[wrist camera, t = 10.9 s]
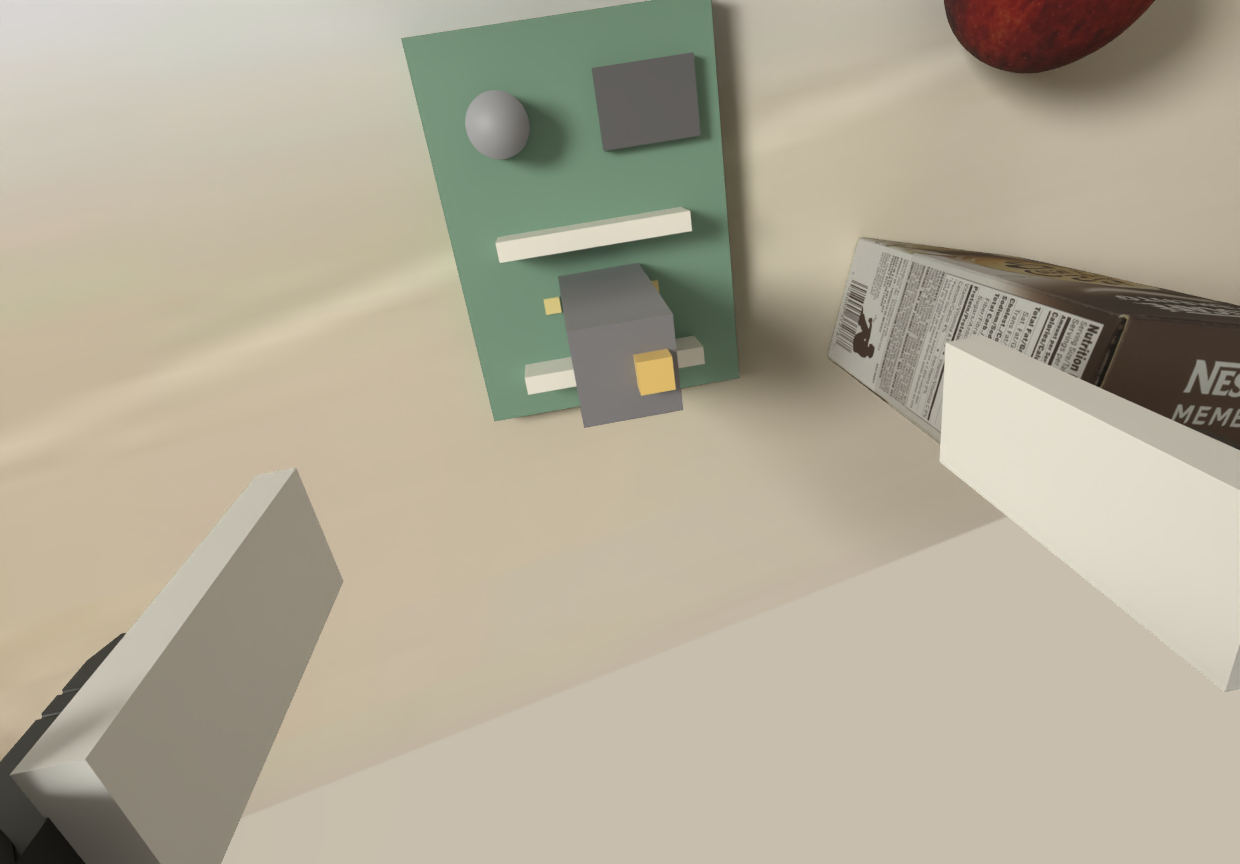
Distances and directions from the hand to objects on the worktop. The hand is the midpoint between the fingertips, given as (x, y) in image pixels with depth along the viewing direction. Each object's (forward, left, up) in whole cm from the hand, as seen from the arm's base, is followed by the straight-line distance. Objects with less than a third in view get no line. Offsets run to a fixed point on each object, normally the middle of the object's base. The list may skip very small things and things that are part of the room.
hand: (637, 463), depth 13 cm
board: (-3, +1, -19) cm, 19 cm away
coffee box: (+4, +17, -19) cm, 26 cm away
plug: (+1, +1, -18) cm, 18 cm away
